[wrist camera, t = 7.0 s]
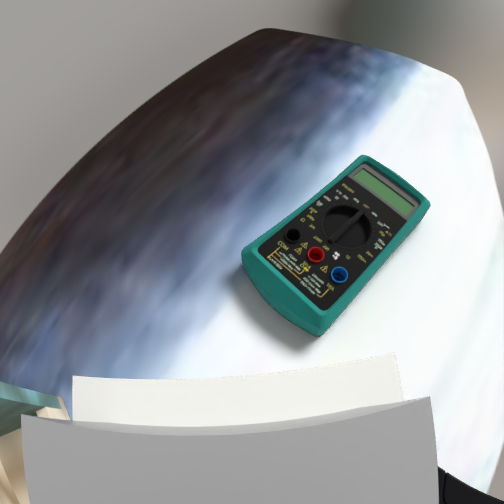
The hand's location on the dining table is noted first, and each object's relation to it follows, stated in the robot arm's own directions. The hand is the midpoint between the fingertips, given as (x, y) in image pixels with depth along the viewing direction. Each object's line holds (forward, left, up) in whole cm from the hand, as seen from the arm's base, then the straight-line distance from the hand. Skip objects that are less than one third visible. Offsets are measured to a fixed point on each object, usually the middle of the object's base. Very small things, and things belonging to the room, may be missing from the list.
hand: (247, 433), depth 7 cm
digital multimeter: (+8, -12, -11) cm, 18 cm away
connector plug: (-1, +1, -7) cm, 7 cm away
